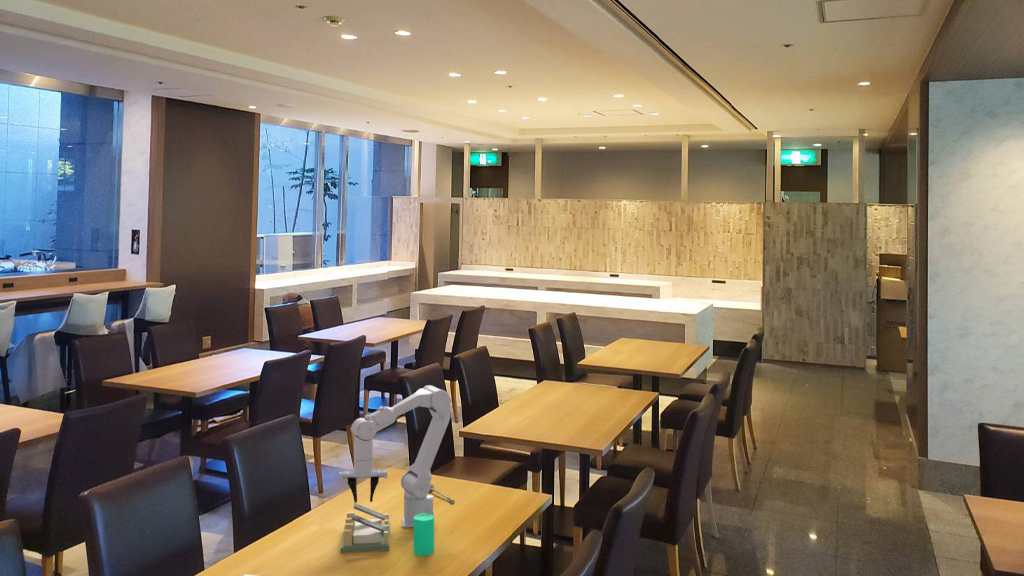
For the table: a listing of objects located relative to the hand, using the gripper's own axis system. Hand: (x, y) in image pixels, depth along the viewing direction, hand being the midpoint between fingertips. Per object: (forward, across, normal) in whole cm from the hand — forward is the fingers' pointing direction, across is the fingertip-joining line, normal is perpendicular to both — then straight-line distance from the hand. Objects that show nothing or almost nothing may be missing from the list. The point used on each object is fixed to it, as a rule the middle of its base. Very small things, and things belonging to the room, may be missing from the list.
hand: (363, 501), depth 232 cm
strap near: (+4, -2, +9) cm, 10 cm away
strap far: (+4, -2, 0) cm, 5 cm away
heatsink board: (+10, -1, +4) cm, 11 cm away
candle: (+11, -18, +15) cm, 26 cm away
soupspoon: (+11, -23, -32) cm, 41 cm away
